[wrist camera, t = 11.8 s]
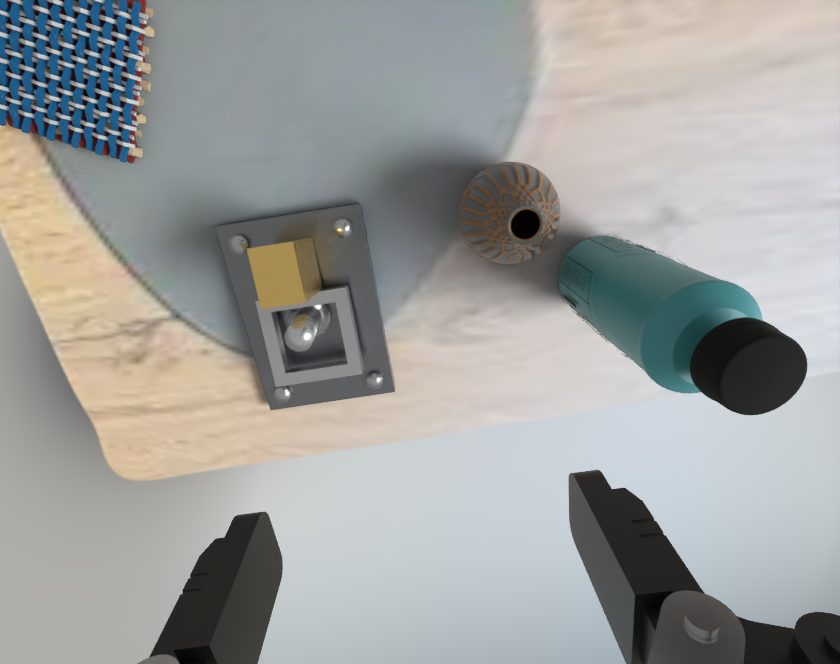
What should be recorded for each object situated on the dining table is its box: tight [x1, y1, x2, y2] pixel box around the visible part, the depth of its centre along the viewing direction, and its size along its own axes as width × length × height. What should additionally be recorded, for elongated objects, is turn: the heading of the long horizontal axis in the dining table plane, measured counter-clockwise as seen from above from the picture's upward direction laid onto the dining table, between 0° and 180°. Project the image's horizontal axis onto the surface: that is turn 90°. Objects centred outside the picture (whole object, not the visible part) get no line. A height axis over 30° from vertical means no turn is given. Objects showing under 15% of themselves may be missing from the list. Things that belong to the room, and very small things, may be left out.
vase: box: [459, 162, 560, 264], centre depth 32 cm, size 7×7×9 cm
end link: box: [247, 238, 364, 387], centre depth 34 cm, size 11×7×6 cm, turn 8°
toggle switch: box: [215, 203, 395, 410], centre depth 36 cm, size 16×11×6 cm
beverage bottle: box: [558, 235, 807, 415], centre depth 29 cm, size 6×7×20 cm
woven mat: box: [0, 0, 154, 163], centre depth 31 cm, size 10×11×2 cm
